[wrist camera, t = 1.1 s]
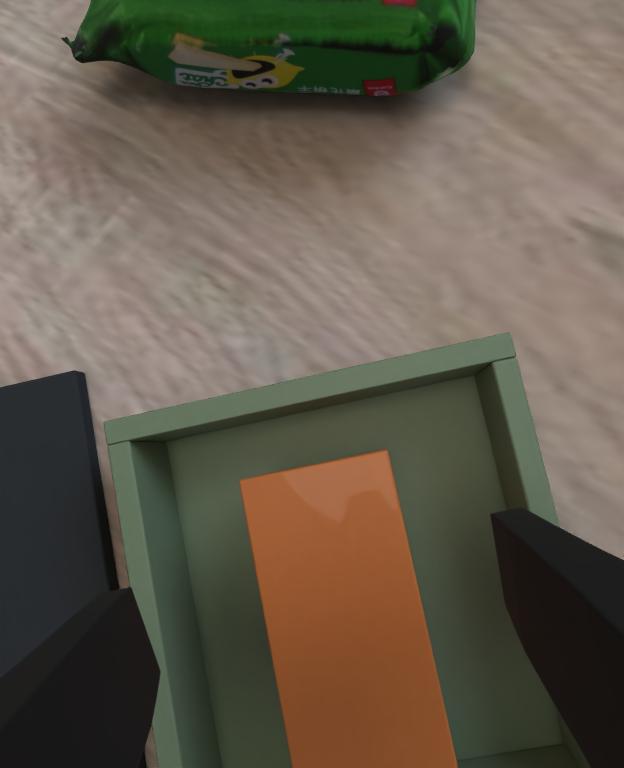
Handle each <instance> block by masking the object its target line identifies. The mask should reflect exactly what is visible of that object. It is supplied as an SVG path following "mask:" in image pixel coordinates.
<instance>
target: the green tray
mask: <svg viewBox="0 0 624 768" xmlns="http://www.w3.org/2000/svg"><path fill="white" fill-rule="evenodd" d="M515 356H516V352H515V348H514V345H513V341H512V337H511V333H509V332H508V333H503V334H499V335H494V336H490V337H485V338H481V339H476V340H472V341H467V342H463V343H458V344H454V345H449V346H444V347H440V348H435V349H431V350H426V351H422V352H417V353H413V354H408V355H404V356H399V357H395V358H390V359H386V360H381V361H377V362H372V363H367V364H363V365H358V366H354V367H349V368H345V369H340V370H336V371H331V372H327V373H322V374H318V375H313V376H309V377H304V378H300V379H295V380H291V381H286V382H281V383H277V384H272V385H268V386H263V387H259V388H254V389H250V390H245V391H241V392H236V393H232V394H227V395H223V396H218V397H214V398H209V399H205V400H200V401H195V402H191V403H186V404H182V405H177V406H173V407H168V408H164V409H159V410H155V411H150V412H146V413H141V414H137V415H132V416H128V417H123V418H119V419H114V420H109V421H105V422H104V428H105V435H106V441H107V445H109V446H108V452H109V458H110V464H111V471H112V477H113V483H114V490H115V496H116V502H117V509H118V515H119V521H120V528H121V534H122V540H123V547H124V553H125V559H126V565H127V572H128V578H129V584H130V587H131V588H132V590H133V593H134V596H135V599H136V602H137V605H138V608H139V610H140V613H141V616H142V619H143V622H144V625H145V628H146V630H147V633H148V636H149V639H150V642H151V645H152V648H153V650H154V653H155V656H156V659H157V662H158V665H159V668H160V670H161V674H160V681H159V687H158V693H157V699H156V705H155V710H154V715H153V720H152V730H153V736H154V742H155V749H156V755H157V761H158V768H292V763H291V758H290V753H289V747H288V742H287V737H286V731H285V726H284V720H283V715H282V710H281V704H280V699H279V694H278V688H277V683H276V677H275V672H274V667H273V661H272V656H271V651H270V645H269V640H268V635H267V629H266V624H265V618H264V613H263V608H262V602H261V597H260V592H259V586H258V581H257V575H256V570H255V565H254V559H253V554H252V549H251V543H250V538H249V533H248V527H247V522H246V516H245V511H244V506H243V500H242V495H241V490H240V484H239V481H240V480H241V479H246V478H250V477H255V476H259V475H264V474H268V473H273V472H278V471H283V470H287V469H292V468H297V467H302V466H307V465H312V464H316V463H321V462H326V461H331V460H336V459H341V458H346V457H350V456H355V455H360V454H365V453H370V452H375V451H379V450H384V449H385V450H387V451H388V453H389V457H390V462H391V466H392V471H393V476H394V480H395V485H396V489H397V494H398V498H399V503H400V507H401V512H402V516H403V521H404V525H405V530H406V534H407V539H408V543H409V548H410V552H411V557H412V562H413V566H414V571H415V575H416V580H417V584H418V589H419V593H420V598H421V602H422V607H423V611H424V616H425V620H426V625H427V629H428V634H429V638H430V643H431V648H432V652H433V657H434V661H435V666H436V670H437V675H438V679H439V684H440V688H441V693H442V697H443V702H444V706H445V711H446V715H447V720H448V724H449V729H450V734H451V738H452V743H453V747H454V752H455V756H456V761H457V765H458V768H591V767H590V765H589V763H588V762H587V760H586V758H585V756H584V755H583V753H582V751H581V749H580V748H579V746H578V744H577V742H576V741H575V739H574V737H573V735H572V734H571V732H570V730H569V728H568V727H567V725H566V723H565V721H564V720H563V718H562V716H561V714H560V713H559V711H558V709H557V708H556V706H555V704H554V702H553V701H552V699H551V697H550V695H549V694H548V692H547V690H546V688H545V687H544V685H543V683H542V681H541V680H540V678H539V676H538V674H537V672H536V671H535V669H534V667H533V665H532V664H531V662H530V660H529V658H528V656H527V655H526V653H525V651H524V649H523V646H522V644H521V642H520V639H519V637H518V635H517V632H516V630H515V628H514V625H513V623H512V620H511V618H510V615H509V613H508V611H507V608H506V606H505V602H504V596H503V590H502V583H501V577H500V571H499V565H498V559H497V553H496V547H495V541H494V535H493V529H492V523H491V517H490V514H491V513H496V512H501V511H505V510H510V509H515V508H520V507H522V508H524V509H526V510H528V511H530V512H532V513H534V514H536V515H538V516H539V517H541V518H543V519H545V520H547V521H548V522H550V523H552V524H554V525H556V526H558V527H559V528H560V526H559V522H558V518H557V514H556V511H555V507H554V503H553V499H552V495H551V491H550V487H549V483H548V479H547V475H546V471H545V467H544V463H543V460H542V456H541V452H540V448H539V444H538V440H537V436H536V432H535V428H534V424H533V420H532V416H531V413H530V409H529V405H528V401H527V397H526V393H525V389H524V385H523V381H522V377H521V373H520V369H519V365H518V362H517V359H516V358H514V357H515Z"/></svg>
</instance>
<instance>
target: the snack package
mask: <svg viewBox="0 0 624 768" xmlns="http://www.w3.org/2000/svg"><path fill="white" fill-rule="evenodd" d="M475 9H476V0H91V3H90V6H89V9H88V12H87V14H86V16H85V19H84V20H83V22H82V24H81V26H80V28H79V31H78V33H77V36H76V38H75V40H74V41H73V42H70V41H69V39H68V38H67V37H65V38H61V39H62V40H63V41H64V42H65V43H67V44H68V45H69V46H70V47H71V50H72V53H73V57H74V58H75V59H76V60H77V61H79V62H81V63H87V62H94V61H115V62H121V63H123V64H126V65H129V66H132V67H134V68H137V69H139V70H141V71H144V72H146V73H148V74H150V75H152V76H154V77H156V78H159V79H161V80H163V81H166V82H169V83H172V84H176V85H181V86H195V87H198V88H222V89H233V90H256V91H277V92H294V93H326V94H354V95H367V96H388V95H397V94H401V93H404V92H409V91H415V90H419V89H421V88H423V87H424V86H426V85H428V84H430V83H432V82H434V81H437V80H439V79H441V78H443V77H445V76H447V75H449V74H452V73H454V72H456V71H457V70H459V69H460V68H461V67H463V66H464V65H465V64H466V63H467V62H468V61H469V59H470V57H471V56H472V54H473V52H474V46H475Z"/></svg>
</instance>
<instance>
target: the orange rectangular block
mask: <svg viewBox="0 0 624 768" xmlns="http://www.w3.org/2000/svg"><path fill="white" fill-rule="evenodd" d="M239 484H240V490H241V495H242V500H243V506H244V511H245V516H246V522H247V527H248V533H249V538H250V543H251V549H252V554H253V559H254V565H255V570H256V575H257V581H258V586H259V592H260V597H261V602H262V608H263V613H264V618H265V624H266V629H267V635H268V640H269V645H270V651H271V656H272V661H273V667H274V672H275V677H276V683H277V688H278V694H279V699H280V704H281V710H282V715H283V720H284V726H285V731H286V737H287V742H288V747H289V753H290V758H291V763H292V768H458V765H457V761H456V756H455V752H454V747H453V743H452V738H451V734H450V729H449V724H448V720H447V715H446V711H445V706H444V702H443V697H442V693H441V688H440V684H439V679H438V675H437V670H436V666H435V661H434V657H433V652H432V648H431V643H430V638H429V634H428V629H427V625H426V620H425V616H424V611H423V607H422V602H421V598H420V593H419V589H418V584H417V580H416V575H415V571H414V566H413V562H412V557H411V552H410V548H409V543H408V539H407V534H406V530H405V525H404V521H403V516H402V512H401V507H400V503H399V498H398V494H397V489H396V485H395V480H394V476H393V471H392V466H391V462H390V457H389V453H388V451H387V450H385V449H384V450H379V451H375V452H370V453H365V454H360V455H355V456H350V457H346V458H341V459H336V460H331V461H326V462H321V463H316V464H312V465H307V466H302V467H297V468H292V469H287V470H283V471H278V472H273V473H268V474H264V475H259V476H255V477H250V478H246V479H241V480H240V481H239Z"/></svg>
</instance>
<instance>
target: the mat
mask: <svg viewBox="0 0 624 768" xmlns="http://www.w3.org/2000/svg"><path fill="white" fill-rule="evenodd" d="M115 590H118V586H117V579H116V573H115V567H114V560H113V554H112V547H111V541H110V534H109V528H108V522H107V515H106V509H105V502H104V496H103V490H102V483H101V477H100V470H99V464H98V457H97V451H96V445H95V438H94V432H93V425H92V419H91V412H90V406H89V400H88V393H87V387H86V380H85V374H84V373H82V372H78V371H70V372H66V373H61V374H57V375H53V376H48V377H44V378H40V379H35V380H31V381H27V382H22V383H18V384H14V385H9V386H5V387H0V678H1V677H2V676H3V675H4V674H6V673H7V672H8V671H9V670H10V669H12V668H13V667H14V666H15V665H17V664H18V663H19V662H20V661H21V660H22V659H24V658H25V657H26V656H27V655H28V654H29V653H31V652H32V651H33V650H34V649H35V648H36V647H37V646H39V645H40V644H41V643H42V642H43V641H44V640H46V639H47V638H48V637H49V636H50V635H51V634H52V633H54V632H55V631H56V630H57V629H58V628H59V627H61V626H62V625H63V624H64V623H65V622H66V621H67V620H69V619H70V618H71V617H72V616H73V615H74V614H76V613H77V612H78V611H79V610H80V609H82V608H83V607H84V606H85V605H87V604H88V603H89V602H90V601H92V600H93V599H94V598H96V597H97V596H99V595H100V594H102V593H105V592H110V591H115ZM138 768H146V766H145V759H144V753H143V754H142V757H141V760H140V763H139V767H138Z"/></svg>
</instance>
